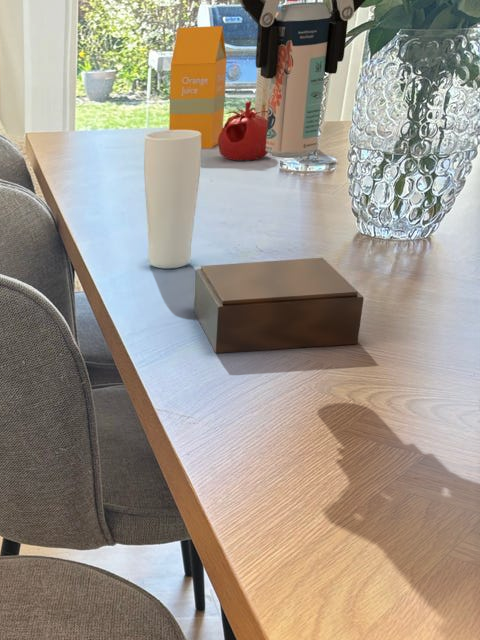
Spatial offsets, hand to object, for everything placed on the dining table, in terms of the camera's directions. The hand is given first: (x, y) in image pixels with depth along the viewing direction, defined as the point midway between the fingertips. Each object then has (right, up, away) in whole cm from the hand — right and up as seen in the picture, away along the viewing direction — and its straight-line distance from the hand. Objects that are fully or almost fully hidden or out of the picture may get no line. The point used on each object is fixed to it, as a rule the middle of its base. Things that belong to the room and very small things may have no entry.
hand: (298, 72), depth 90 cm
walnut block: (+1, -19, +14) cm, 24 cm away
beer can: (+1, -6, +4) cm, 7 cm away
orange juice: (+12, +47, +107) cm, 118 cm away
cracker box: (+28, +50, +110) cm, 124 cm away
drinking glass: (-5, -4, +37) cm, 37 cm away
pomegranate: (+18, +37, +92) cm, 101 cm away
